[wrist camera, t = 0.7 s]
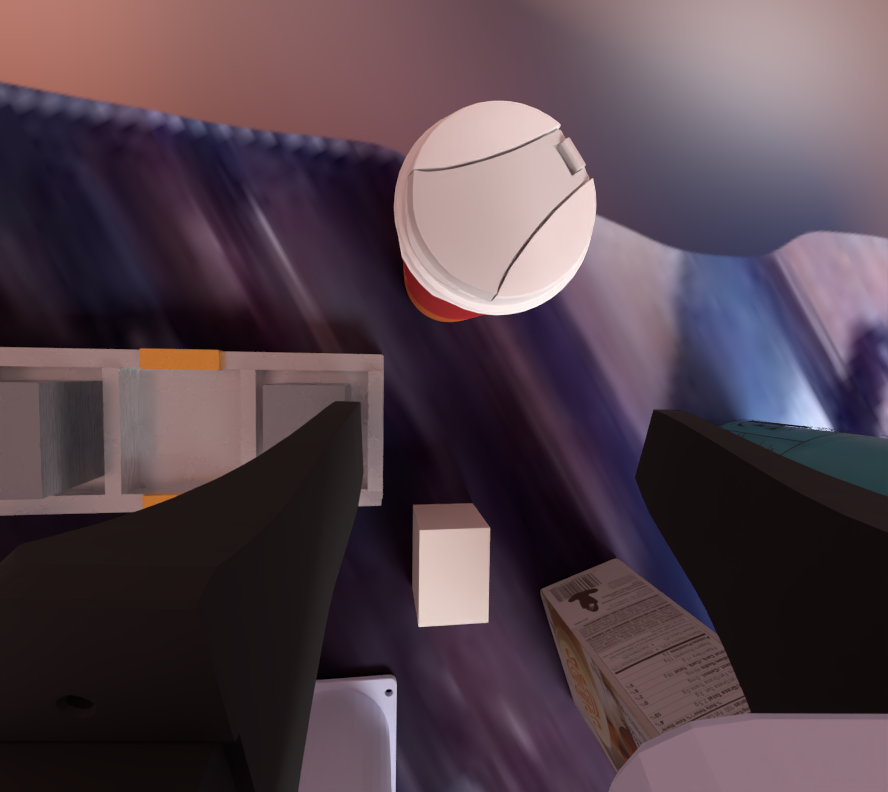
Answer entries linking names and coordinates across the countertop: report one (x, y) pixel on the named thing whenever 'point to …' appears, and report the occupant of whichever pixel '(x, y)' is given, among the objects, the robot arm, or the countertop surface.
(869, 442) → the beverage bottle
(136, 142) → the countertop surface
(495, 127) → the paper cup
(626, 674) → the coffee box
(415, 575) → the white rectangular carton
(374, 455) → the rack
